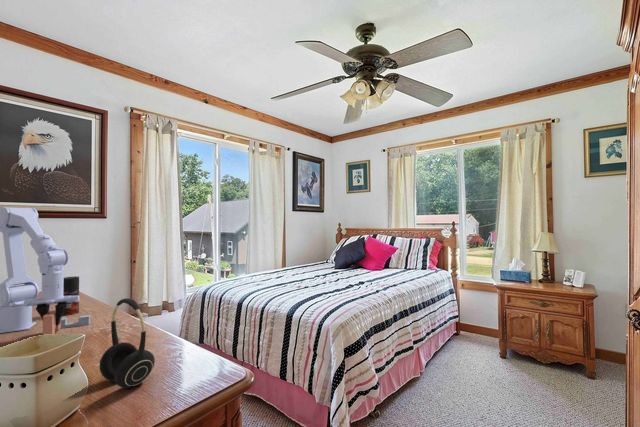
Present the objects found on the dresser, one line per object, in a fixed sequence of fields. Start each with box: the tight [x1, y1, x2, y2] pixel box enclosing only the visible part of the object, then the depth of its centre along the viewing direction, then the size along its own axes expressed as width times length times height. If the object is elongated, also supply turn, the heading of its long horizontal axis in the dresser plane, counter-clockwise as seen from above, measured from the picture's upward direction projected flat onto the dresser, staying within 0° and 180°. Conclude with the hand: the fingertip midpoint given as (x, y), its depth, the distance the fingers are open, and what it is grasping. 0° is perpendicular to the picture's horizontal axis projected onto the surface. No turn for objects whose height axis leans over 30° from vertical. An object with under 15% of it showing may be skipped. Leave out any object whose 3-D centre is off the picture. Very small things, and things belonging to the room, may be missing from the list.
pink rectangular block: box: [42, 308, 62, 335], centre depth 106 cm, size 2×10×7 cm, turn 27°
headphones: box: [99, 298, 156, 389], centre depth 75 cm, size 9×15×20 cm, turn 58°
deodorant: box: [62, 276, 80, 317], centre depth 131 cm, size 6×6×15 cm
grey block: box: [60, 314, 91, 329], centre depth 115 cm, size 10×2×3 cm, turn 117°
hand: (52, 325), depth 106 cm, fingers closed on pink rectangular block, 2 cm apart
